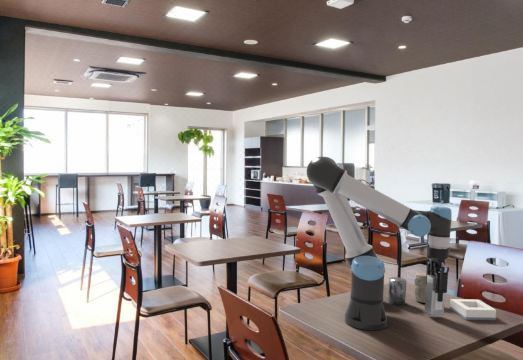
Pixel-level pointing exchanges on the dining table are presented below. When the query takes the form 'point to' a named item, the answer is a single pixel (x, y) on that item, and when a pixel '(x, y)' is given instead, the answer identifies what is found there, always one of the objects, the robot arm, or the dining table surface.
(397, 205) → the robot arm
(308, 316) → the dining table surface
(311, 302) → the dining table surface
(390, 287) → the round bit
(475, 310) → the bore block
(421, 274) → the carving
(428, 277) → the square peg
